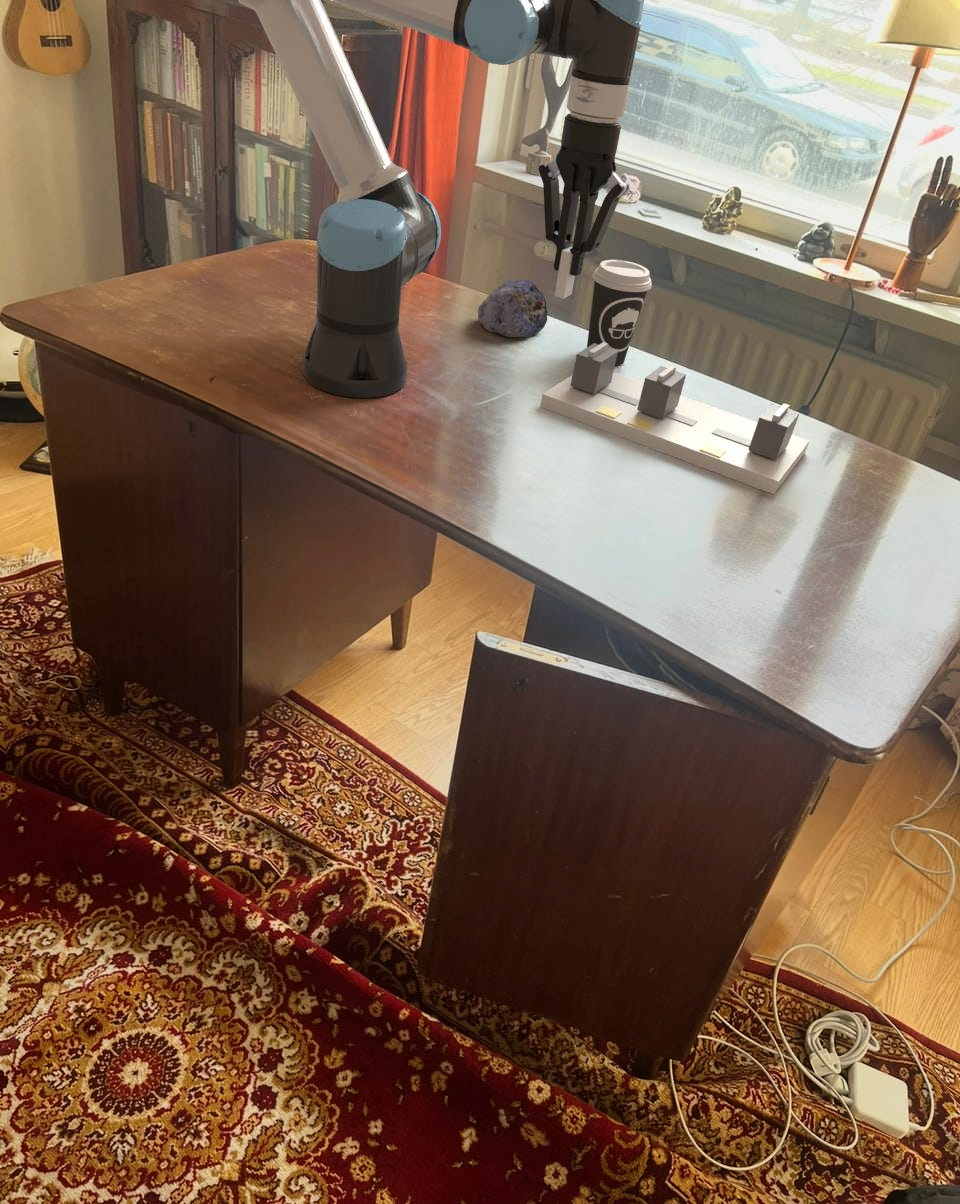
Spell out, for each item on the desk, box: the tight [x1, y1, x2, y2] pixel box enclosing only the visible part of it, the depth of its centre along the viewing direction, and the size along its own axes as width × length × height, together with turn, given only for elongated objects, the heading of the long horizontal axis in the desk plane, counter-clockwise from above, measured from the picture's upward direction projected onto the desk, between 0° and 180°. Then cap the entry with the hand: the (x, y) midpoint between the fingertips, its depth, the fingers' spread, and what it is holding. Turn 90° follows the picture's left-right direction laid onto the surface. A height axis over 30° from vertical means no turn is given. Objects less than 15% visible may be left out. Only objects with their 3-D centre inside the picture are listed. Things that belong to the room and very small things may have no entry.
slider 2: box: [637, 364, 687, 419], centre depth 134 cm, size 4×6×6 cm, turn 149°
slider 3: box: [748, 403, 800, 460], centre depth 128 cm, size 4×6×6 cm, turn 149°
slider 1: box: [570, 342, 618, 394], centre depth 137 cm, size 4×6×6 cm, turn 149°
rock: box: [477, 279, 548, 338], centre depth 158 cm, size 11×10×10 cm
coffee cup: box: [586, 259, 653, 367], centre depth 150 cm, size 10×10×15 cm
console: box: [540, 371, 810, 495], centre depth 135 cm, size 36×16×2 cm, turn 59°
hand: (563, 295), depth 135 cm, fingers closed
